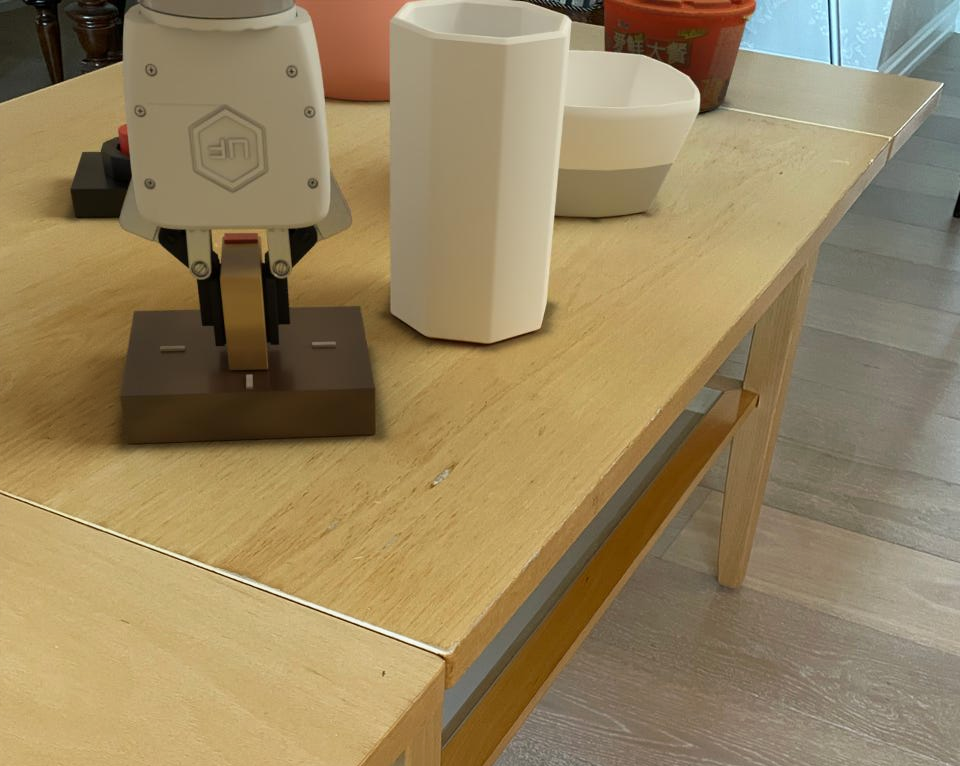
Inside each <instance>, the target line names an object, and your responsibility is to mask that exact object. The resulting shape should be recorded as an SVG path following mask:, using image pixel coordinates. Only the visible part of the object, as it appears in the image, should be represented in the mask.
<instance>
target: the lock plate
mask: <svg viewBox="0 0 960 766" xmlns="http://www.w3.org/2000/svg"><path fill="white" fill-rule="evenodd" d="M289 310H290V324H285V325H279V345H270V343H268V369H266V370H229V363H228V353H227V344H225V346H216V344H215V335H214V326H202V321H201V312H200V309H166V310H165V309H164V310H161V309H160V310H159V309H158V310H157V309H156V310H133V315H132V321H131V325H130V326H131V327H130V332H129V333H130V334H129V338H128V339H129V340H128V345H127V351H126V358H125V362H124V363H125V364H124V368H123V369H124V370H123V374H122V375H123V376H122V382H121V388H120V394H119V399H120V405H121V411H122V417H123V423H124V428H125V429H124V430H125V434H126V440H127V444H128V445H134V444H135V445H137V444H159V443H162V444H163V443H186V442H187V443H188V442H213V441H236V440H238V441H240V440H241V441H242V440H263V439H265V440H266V439H288V438H289V439H291V438H292V439H293V438H317V437H319V438H320V437H338V436H339V437H343V436H368V435H369V436H370V435H371V436H372V435H376V434H377V409H376V407H377V406H376V405H377V404H376V403H377V402H376V399H377V398H376V385H375V380H374V373H373V369H372V364H371V357H370V352H369V345H368V341H367V335H366V330H365V324H364V319H363V313H362V309H361V305H351V306H349V305H345V306H344V305H343V306H303V307H302V306H299V307H298V306H297V307H296V306H295V307H294V306H293V307H289Z"/></svg>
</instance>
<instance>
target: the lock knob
mask: <svg viewBox="0 0 960 766" xmlns="http://www.w3.org/2000/svg"><path fill="white" fill-rule="evenodd" d="M262 247H263V246H262V237H261V236H260V235H259V232H224V235H223V236H222V238H221V253H220V254H221V255H220V263H221V269H220V284H221V294H222V304H223V314H224V324H225V334H226V343H227V353H228V363H229V370H266V369H268V343H267V338H266V325H265V312H264V299H263V286H262V263H264V260H263V259H264V258H263V249H262Z"/></svg>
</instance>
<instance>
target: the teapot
mask: <svg viewBox="0 0 960 766" xmlns="http://www.w3.org/2000/svg"><path fill="white" fill-rule="evenodd" d="M413 1H422V0H295V3H296V6H298V7H301V8H303V9H305V10H306V11H307V12H308V14H309V15H310V17H311V21H312V24H313V28H314V33H315V37H316V42H317V47H318V53H319V59H320V65H321V72H322V80H323V88H324V98H331V99H338V100H347V101H363V102H364V101H365V102H376V101H377V102H379V101H380V102H382V101H383V102H384V101H390V20H391V19H392V18H393V17H394V16H395V15H396V13H397V12H398V11H399V10H400V9H401V8H402V7H403V6H404V5H405V4H406V3H407V2H413Z"/></svg>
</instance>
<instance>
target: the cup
mask: <svg viewBox="0 0 960 766" xmlns="http://www.w3.org/2000/svg"><path fill="white" fill-rule="evenodd" d="M571 32H572V19H571V18H570V17H569V16H568V15H566V14H563V13H561V12H558V11H555V10H551V9H548V8H545V7H543V6H540V5H537V4H534V3H532V2H529V1H528V2H527V1H520V0H422V1H413V2H407V3H406V4H405V5H404V6H403V7H402V8H401V9H400V10H399V11H398V12H397V13H396V15H395V16H394V17H393V18H392V19H391V20H390V100H389V225H390V226H389V229H390V231H389V233H390V235H389V239H390V240H389V242H390V244H389V245H390V246H389V248H390V250H389V251H390V252H389V253H390V255H389V257H390V259H389V260H390V263H389V264H390V265H389V266H390V269H389V270H390V272H389V273H390V276H389V277H390V278H389V279H390V282H389V283H390V285H389V286H390V291H389V292H390V313H391V314H392V315H393V316H395V317H396V318H398V319H399V320H400V321H402V322H404V323H405V324H407V325H408V326H409V327H411V328H413V330H416V331H417V332H418V333H420V334H422V335H423V336H425V337H426V338H429V339H438V340H445V341H446V340H447V341H448V340H449V341H456V342H466V343H475V344H484V345H490V344H495V343H497V342H500V341H505V340H507V339H511V338H514V337H518V336H521V335H525V334H528V333H531V332H535V331H538V330H540V329H541V328H542V323H543V321H544V315H545V311H546V307H547V301H548V291H549V280H550V269H551V260H552V259H551V257H552V247H553V235H554V222H555V215H554V214H555V202H556V191H557V180H558V168H559V157H560V146H561V135H562V123H563V112H564V101H565V90H566V78H567V67H568V56H569V50H570V44H571Z"/></svg>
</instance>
